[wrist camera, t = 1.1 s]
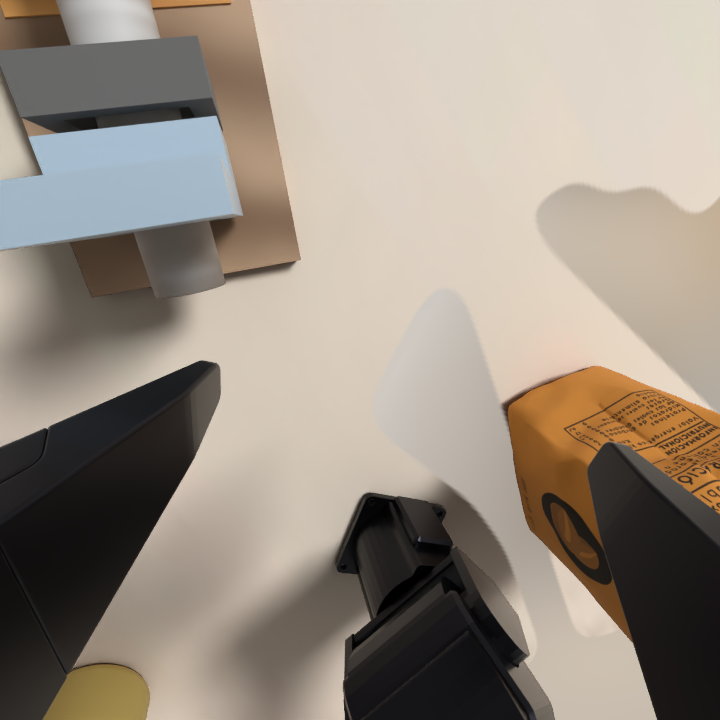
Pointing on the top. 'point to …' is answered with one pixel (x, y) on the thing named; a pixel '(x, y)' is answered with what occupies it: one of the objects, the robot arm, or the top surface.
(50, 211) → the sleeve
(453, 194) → the top surface
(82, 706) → the paper tube
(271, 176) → the pipe stand
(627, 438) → the coffee package
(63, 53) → the dark grey block
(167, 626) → the top surface
